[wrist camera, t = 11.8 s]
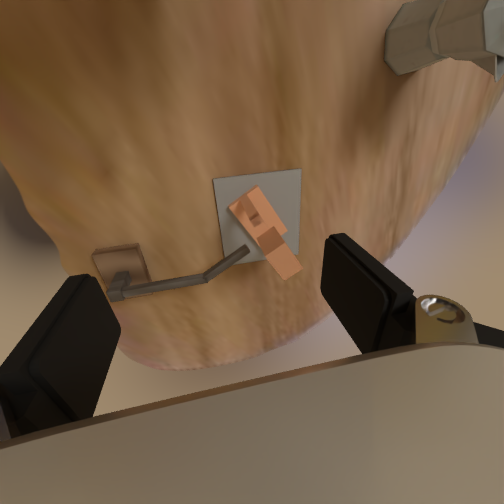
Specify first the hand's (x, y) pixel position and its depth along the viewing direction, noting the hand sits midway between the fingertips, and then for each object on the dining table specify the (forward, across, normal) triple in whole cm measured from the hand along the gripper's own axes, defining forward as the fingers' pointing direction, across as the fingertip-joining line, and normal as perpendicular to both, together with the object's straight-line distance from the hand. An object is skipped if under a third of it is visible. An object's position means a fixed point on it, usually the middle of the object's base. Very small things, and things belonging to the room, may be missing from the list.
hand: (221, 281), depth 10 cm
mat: (+32, -8, +12) cm, 35 cm away
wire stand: (+32, +8, +18) cm, 38 cm away
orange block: (+32, -8, +11) cm, 35 cm away
